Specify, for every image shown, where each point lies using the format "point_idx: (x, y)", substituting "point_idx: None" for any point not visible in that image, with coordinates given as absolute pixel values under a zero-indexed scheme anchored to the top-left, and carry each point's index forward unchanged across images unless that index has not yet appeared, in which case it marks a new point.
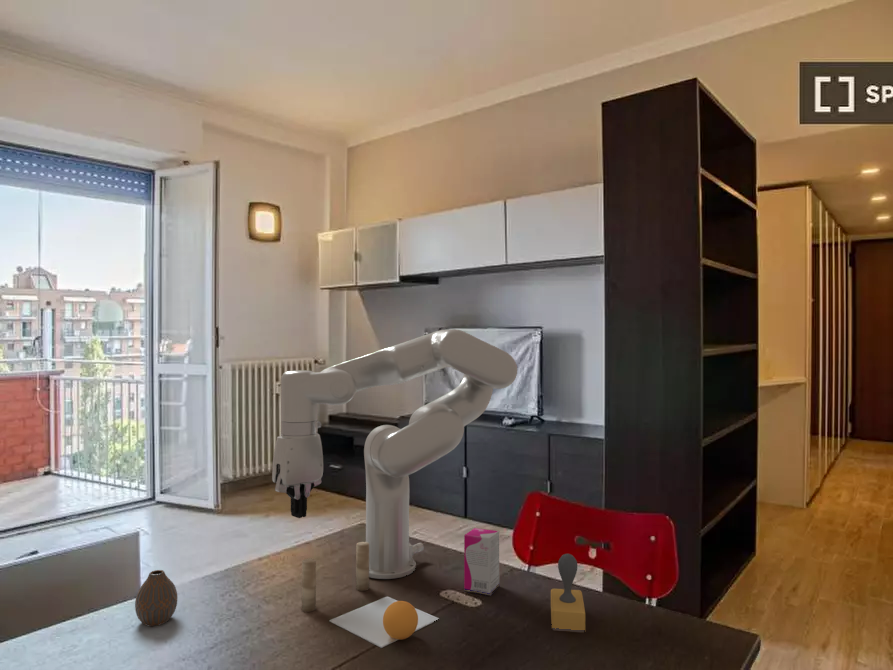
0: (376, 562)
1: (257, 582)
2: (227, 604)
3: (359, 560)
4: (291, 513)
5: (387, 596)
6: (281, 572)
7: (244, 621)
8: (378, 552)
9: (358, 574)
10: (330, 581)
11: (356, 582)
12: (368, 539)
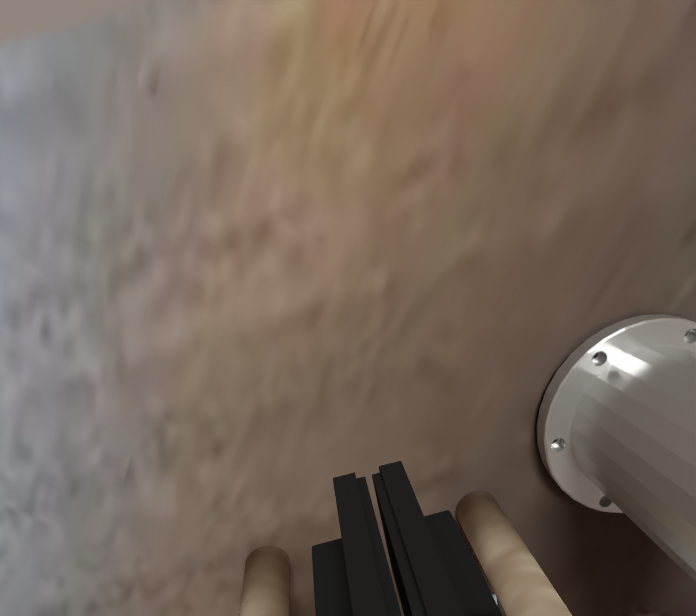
0: (596, 481)
1: (178, 267)
2: (21, 409)
3: (503, 608)
4: (334, 486)
5: (495, 598)
6: (303, 217)
7: (57, 554)
8: (628, 516)
9: (478, 558)
10: (422, 408)
11: (465, 524)
12: (657, 498)
